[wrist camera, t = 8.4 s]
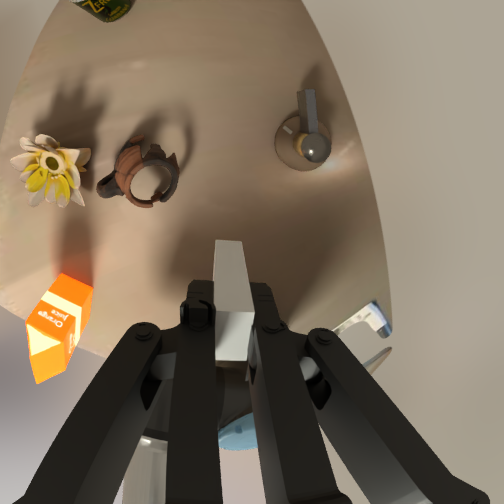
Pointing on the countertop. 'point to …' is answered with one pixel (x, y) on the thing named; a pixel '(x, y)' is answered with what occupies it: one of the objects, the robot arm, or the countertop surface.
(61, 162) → the decorative flower
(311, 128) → the knob
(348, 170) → the countertop surface
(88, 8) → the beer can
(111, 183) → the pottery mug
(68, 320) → the orange juice
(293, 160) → the dial base
